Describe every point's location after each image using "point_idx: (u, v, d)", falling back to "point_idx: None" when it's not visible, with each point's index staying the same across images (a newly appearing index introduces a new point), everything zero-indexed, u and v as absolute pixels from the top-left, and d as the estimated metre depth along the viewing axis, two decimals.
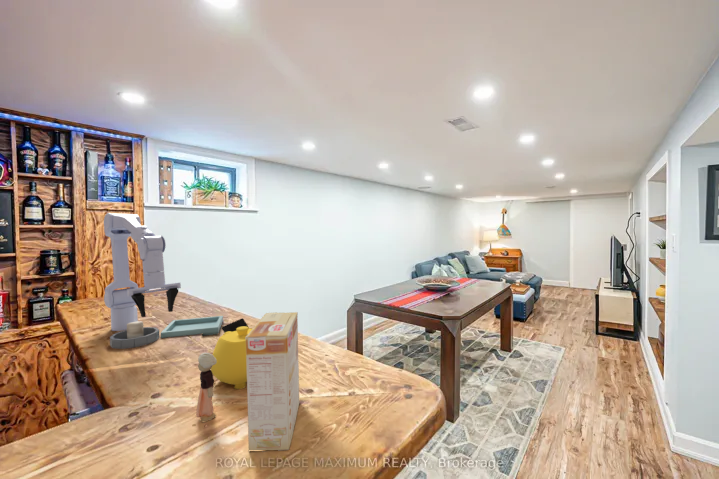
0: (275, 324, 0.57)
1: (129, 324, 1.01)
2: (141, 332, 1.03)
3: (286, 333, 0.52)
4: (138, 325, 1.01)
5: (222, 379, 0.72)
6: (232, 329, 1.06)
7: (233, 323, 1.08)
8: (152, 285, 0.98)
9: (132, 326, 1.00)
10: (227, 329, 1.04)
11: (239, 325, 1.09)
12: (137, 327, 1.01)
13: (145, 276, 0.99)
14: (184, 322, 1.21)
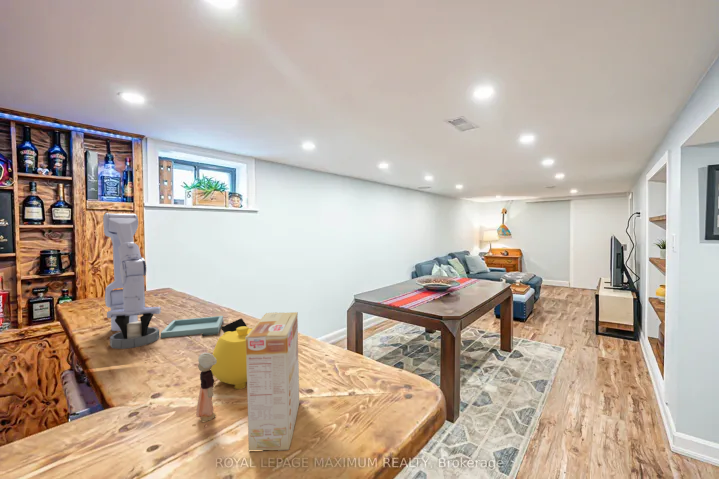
0: (275, 324, 0.57)
1: (129, 324, 1.01)
2: (141, 332, 1.03)
3: (286, 333, 0.52)
4: (138, 325, 1.01)
5: (222, 379, 0.72)
6: (231, 329, 1.06)
7: (232, 323, 1.08)
8: (126, 310, 0.99)
9: (132, 326, 1.00)
10: (227, 329, 1.04)
11: (238, 325, 1.09)
12: (137, 327, 1.01)
13: (123, 300, 1.01)
14: (184, 322, 1.21)
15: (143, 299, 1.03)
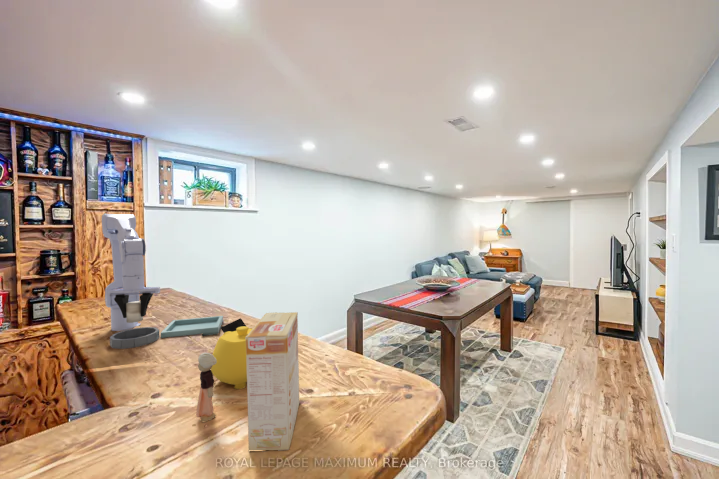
0: (275, 324, 0.57)
1: (128, 303, 1.01)
2: None
3: (286, 333, 0.52)
4: (137, 304, 1.01)
5: (222, 379, 0.72)
6: (231, 329, 1.06)
7: (232, 323, 1.08)
8: (125, 289, 0.99)
9: (132, 305, 1.00)
10: (226, 329, 1.04)
11: (237, 325, 1.09)
12: (136, 306, 1.01)
13: (122, 279, 1.00)
14: (184, 322, 1.21)
15: (142, 278, 1.02)
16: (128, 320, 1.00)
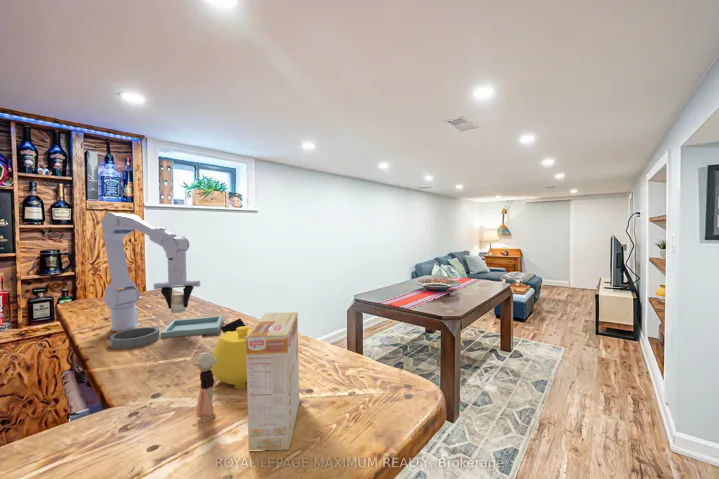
0: (275, 324, 0.57)
1: (173, 295, 1.11)
2: (183, 303, 1.12)
3: (286, 333, 0.52)
4: (181, 296, 1.11)
5: (222, 379, 0.72)
6: (231, 329, 1.05)
7: (231, 323, 1.07)
8: (171, 282, 1.10)
9: (176, 297, 1.10)
10: (226, 330, 1.04)
11: (237, 325, 1.09)
12: (180, 298, 1.11)
13: (168, 273, 1.11)
14: (184, 322, 1.21)
15: (185, 273, 1.13)
16: (173, 310, 1.10)
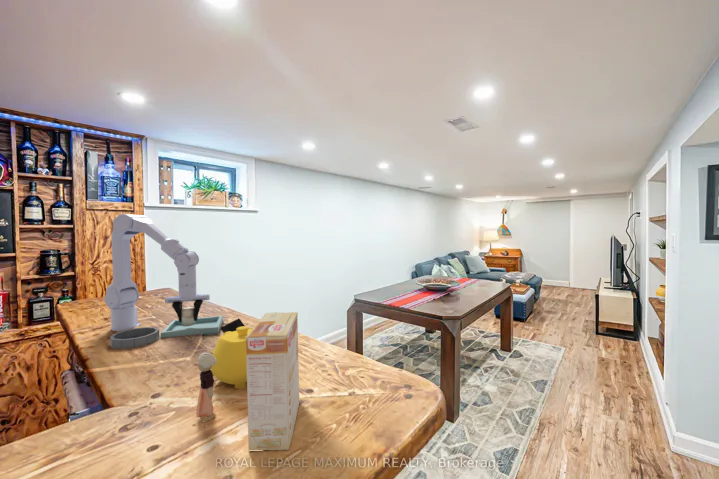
0: (275, 324, 0.57)
1: (183, 309, 1.14)
2: None
3: (286, 333, 0.52)
4: (191, 310, 1.14)
5: (222, 379, 0.72)
6: (230, 329, 1.05)
7: (231, 323, 1.07)
8: (182, 297, 1.12)
9: (186, 311, 1.13)
10: (226, 330, 1.04)
11: (236, 325, 1.09)
12: (190, 312, 1.14)
13: None
14: None
15: (195, 287, 1.16)
16: (183, 324, 1.13)
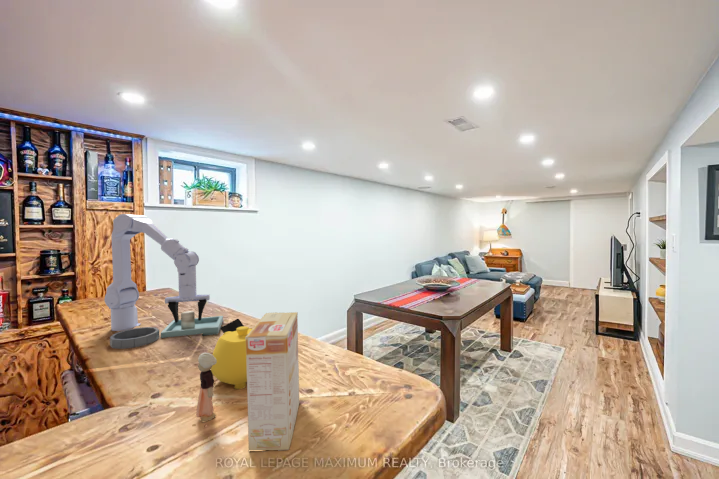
0: (275, 324, 0.57)
1: (183, 313, 1.14)
2: (193, 321, 1.15)
3: (286, 333, 0.52)
4: (191, 314, 1.14)
5: (222, 379, 0.72)
6: (230, 329, 1.05)
7: (230, 323, 1.07)
8: (182, 297, 1.12)
9: (186, 315, 1.13)
10: (226, 330, 1.04)
11: (235, 325, 1.09)
12: (190, 316, 1.14)
13: None
14: None
15: (195, 287, 1.16)
16: (183, 328, 1.13)
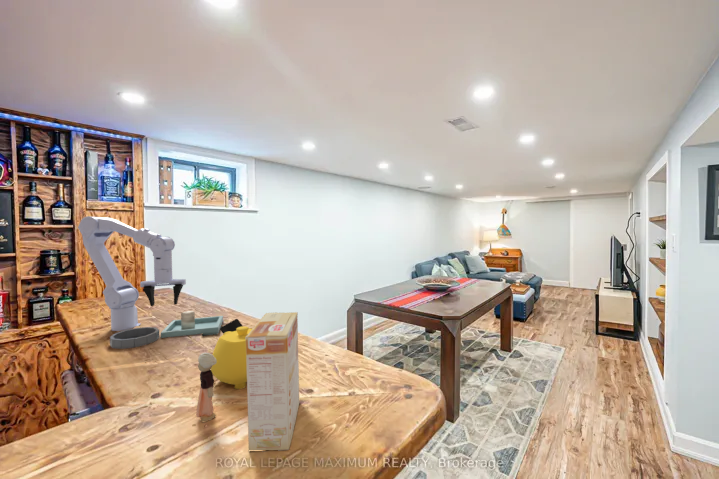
0: (275, 324, 0.57)
1: (183, 313, 1.14)
2: (193, 321, 1.15)
3: (286, 333, 0.52)
4: (191, 314, 1.14)
5: (222, 379, 0.72)
6: (229, 329, 1.05)
7: (229, 324, 1.07)
8: (157, 281, 1.14)
9: (186, 315, 1.13)
10: (225, 330, 1.03)
11: (234, 325, 1.09)
12: (190, 316, 1.14)
13: (154, 272, 1.15)
14: None
15: (171, 271, 1.17)
16: (183, 328, 1.13)
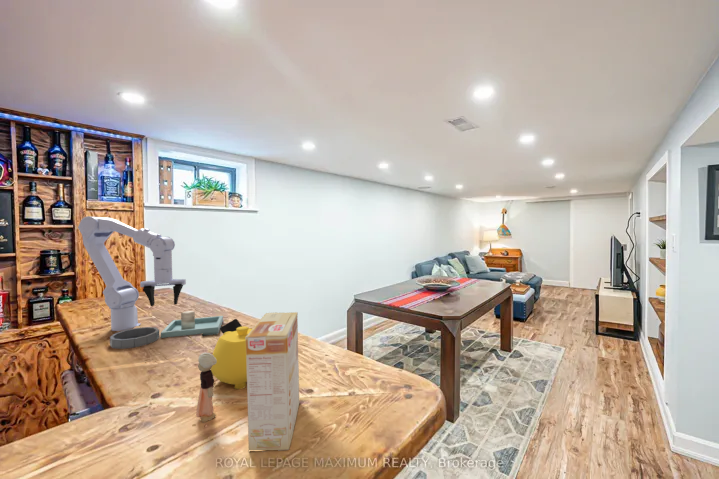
0: (275, 324, 0.57)
1: (183, 313, 1.14)
2: (194, 321, 1.15)
3: (286, 333, 0.52)
4: (191, 314, 1.14)
5: (222, 379, 0.72)
6: (229, 329, 1.05)
7: (229, 324, 1.07)
8: (157, 281, 1.14)
9: (187, 315, 1.13)
10: (225, 330, 1.03)
11: (234, 325, 1.09)
12: (190, 316, 1.14)
13: (154, 272, 1.15)
14: None
15: (171, 271, 1.17)
16: (183, 328, 1.13)
